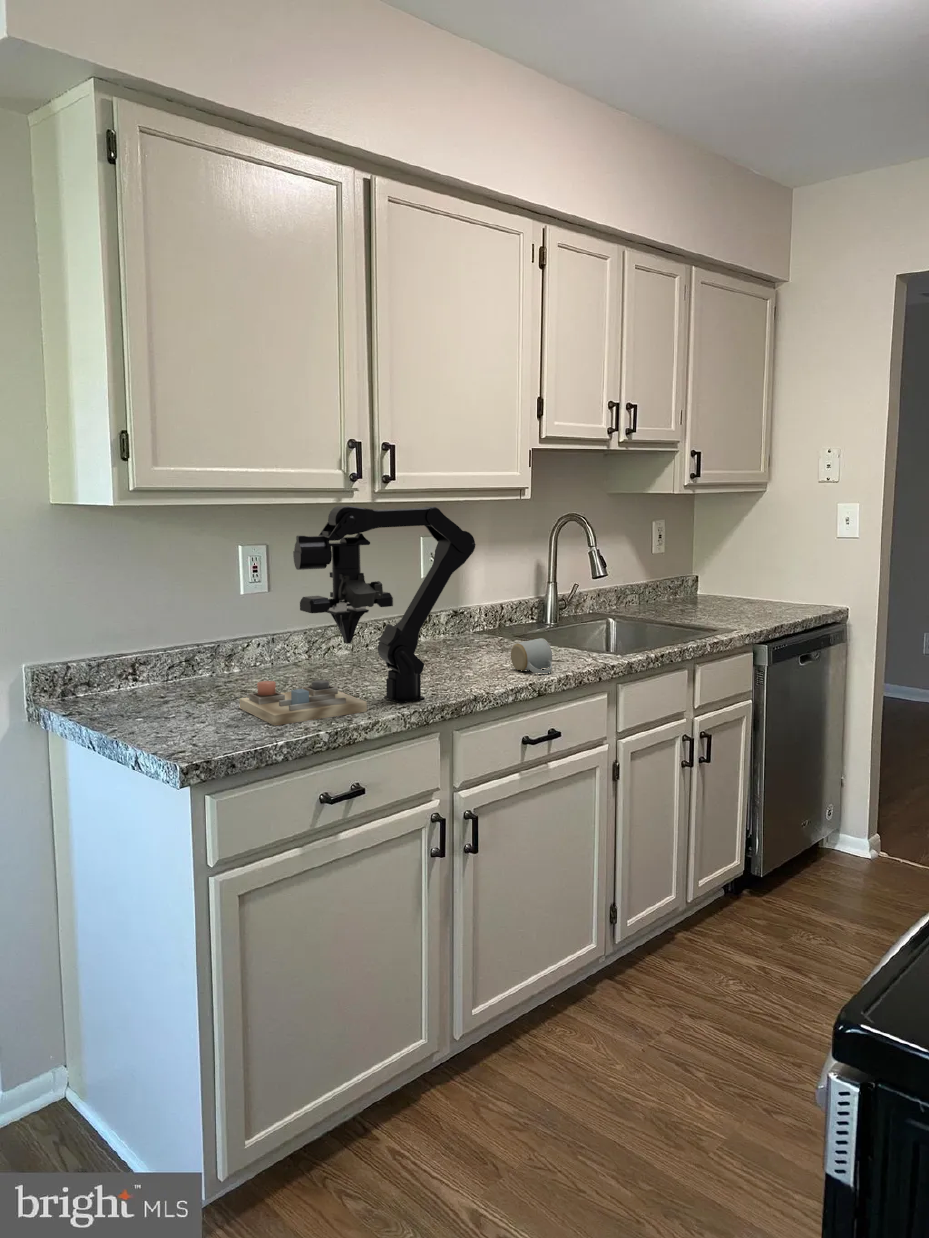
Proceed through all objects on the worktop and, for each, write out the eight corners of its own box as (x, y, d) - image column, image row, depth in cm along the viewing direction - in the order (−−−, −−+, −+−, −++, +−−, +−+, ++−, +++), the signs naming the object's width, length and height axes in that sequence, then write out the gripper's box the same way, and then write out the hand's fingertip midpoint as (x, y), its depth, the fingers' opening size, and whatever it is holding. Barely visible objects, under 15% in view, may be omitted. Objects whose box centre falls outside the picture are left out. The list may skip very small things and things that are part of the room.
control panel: (327, 695, 208) (327, 681, 207) (366, 711, 194) (366, 695, 194) (239, 708, 197) (239, 692, 196) (274, 725, 183) (274, 709, 182)
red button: (271, 690, 197) (271, 680, 197) (278, 693, 194) (278, 683, 194) (254, 692, 195) (254, 682, 195) (262, 696, 192) (261, 685, 192)
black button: (324, 689, 204) (324, 679, 204) (332, 692, 201) (331, 682, 201) (308, 691, 202) (308, 681, 202) (316, 694, 199) (316, 684, 199)
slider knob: (302, 702, 192) (302, 688, 191) (309, 705, 189) (309, 691, 189) (291, 704, 190) (291, 690, 190) (298, 706, 188) (297, 692, 188)
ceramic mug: (508, 669, 238) (508, 638, 237) (535, 666, 243) (535, 636, 241) (533, 677, 229) (533, 645, 228) (560, 674, 234) (561, 643, 232)
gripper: (322, 573, 184) (324, 654, 186) (406, 568, 195) (407, 644, 197) (297, 569, 193) (299, 645, 196) (379, 564, 204) (380, 637, 206)
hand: (348, 643), depth 198 cm, fingers closed
